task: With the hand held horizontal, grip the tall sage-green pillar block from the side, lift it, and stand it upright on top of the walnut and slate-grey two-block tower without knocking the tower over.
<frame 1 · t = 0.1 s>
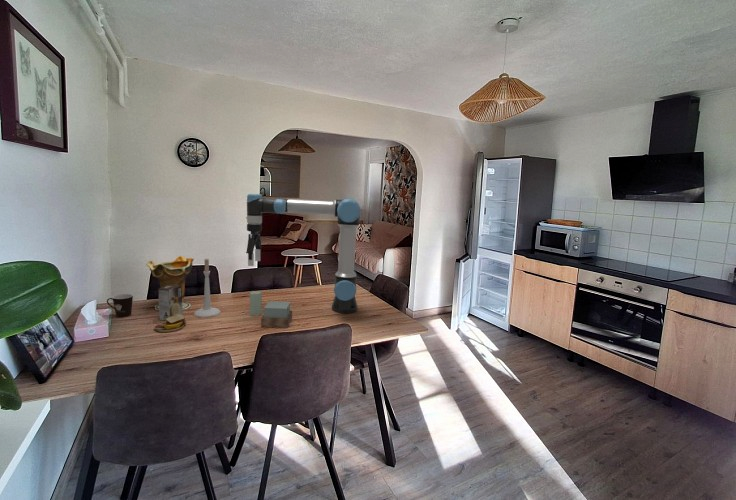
hand: (254, 263, 192), 28 cm above the table, tool pointing down, fingers open, 13 cm apart
sage pillar block: (255, 313, 196), on the table
walnut base block: (277, 323, 185), on the table
coffee mug: (121, 315, 183), on the table
decorative vase: (173, 306, 200), on the table
coffee box: (171, 317, 184), on the table
toy sandwich meal: (170, 328, 171), on the table
candlestick: (207, 313, 192), on the table
slate top block: (277, 314, 184), point 5 cm above the table
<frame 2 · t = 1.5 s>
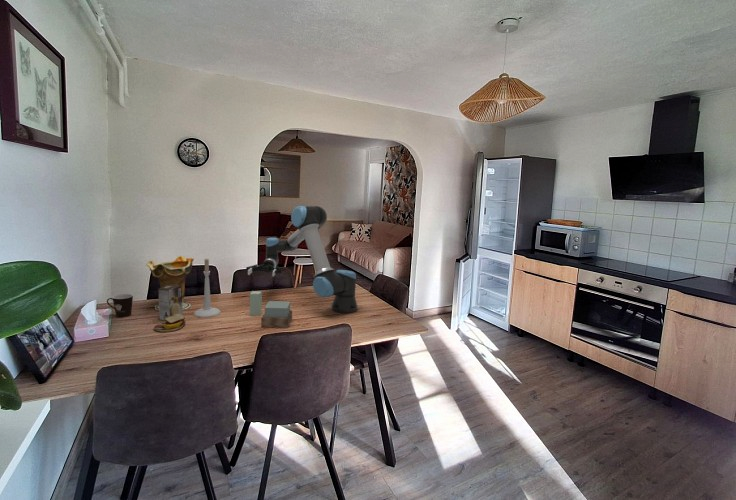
hand: (260, 273, 202), 20 cm above the table, tool horizontal, fingers open, 13 cm apart
walnut base block: (277, 323, 185), on the table, touching slate top block
slate top block: (277, 313, 184), point 5 cm above the table, touching walnut base block
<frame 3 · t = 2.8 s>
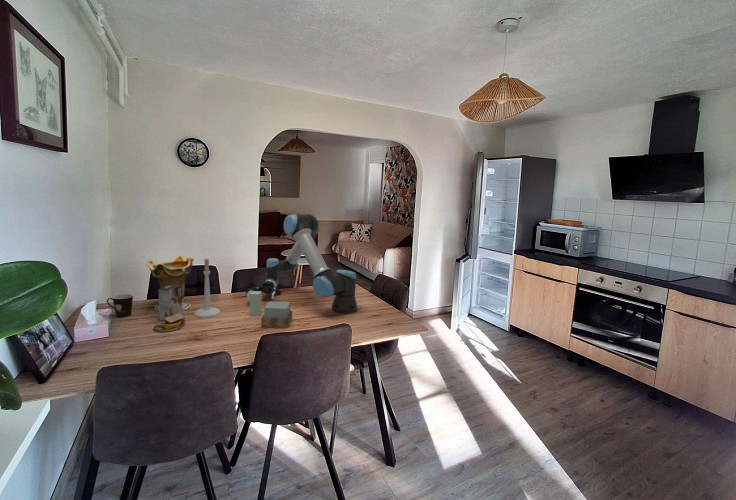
hand: (260, 296, 204), 7 cm above the table, tool horizontal, fingers open, 13 cm apart
walnut base block: (277, 323, 185), on the table
slate top block: (277, 314, 184), point 5 cm above the table
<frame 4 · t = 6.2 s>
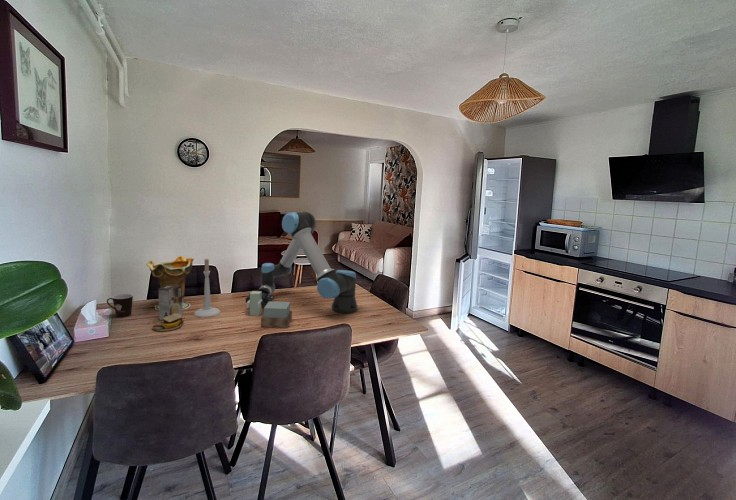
hand: (253, 305, 189), 7 cm above the table, tool horizontal, fingers closed on sage pillar block, 5 cm apart
sage pillar block: (255, 313, 196), on the table, touching gripper
walnut base block: (276, 323, 185), on the table, touching slate top block
toy sandwich meal: (168, 327, 172), on the table
slate top block: (277, 314, 184), point 4 cm above the table, touching walnut base block
everything else where it was.
when the fingers open (17 cm above the table, at t = 12.6 s): sage pillar block drops 1 cm, point 10 cm above the table.
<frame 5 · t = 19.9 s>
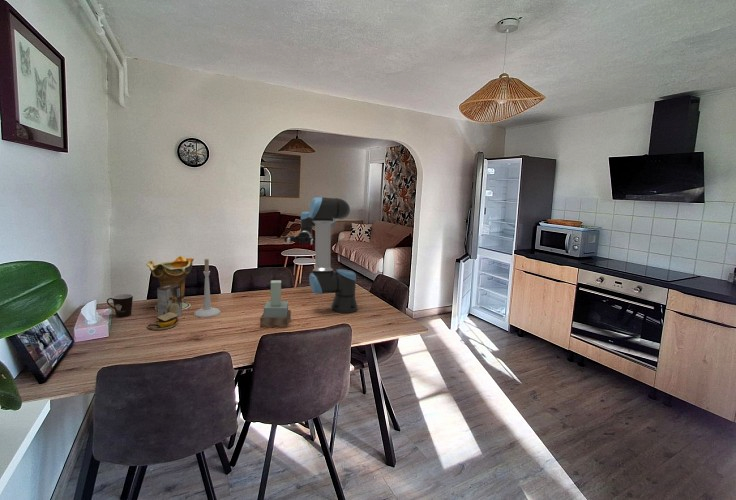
hand: (299, 241, 209), 38 cm above the table, tool horizontal, fingers open, 13 cm apart
sage pillar block: (275, 304, 183), point 10 cm above the table
toy sandwich meal: (163, 326, 173), on the table
at the end: sage pillar block inside the target area on the slate top block (0.2 cm from its centre), point 5.1 cm above the slate top block's base; sage pillar block tilted 1°; slate top block 0.3 cm off-centre on the walnut base block, point 5.0 cm above the walnut base block's base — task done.
